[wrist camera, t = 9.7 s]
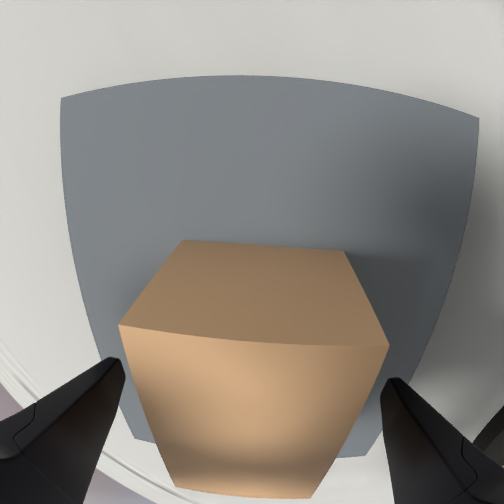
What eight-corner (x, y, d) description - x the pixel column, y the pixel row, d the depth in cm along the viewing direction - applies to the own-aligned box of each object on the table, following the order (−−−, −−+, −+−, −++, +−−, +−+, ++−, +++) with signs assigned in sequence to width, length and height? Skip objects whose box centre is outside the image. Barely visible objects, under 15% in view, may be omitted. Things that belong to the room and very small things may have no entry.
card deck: (197, 404, 12) (175, 486, 8) (182, 239, 9) (118, 324, 5) (305, 412, 12) (310, 498, 8) (343, 251, 9) (390, 345, 5)
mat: (70, 98, 8) (60, 98, 8) (469, 117, 7) (479, 118, 7) (137, 431, 15) (134, 438, 14) (363, 447, 14) (365, 455, 14)
